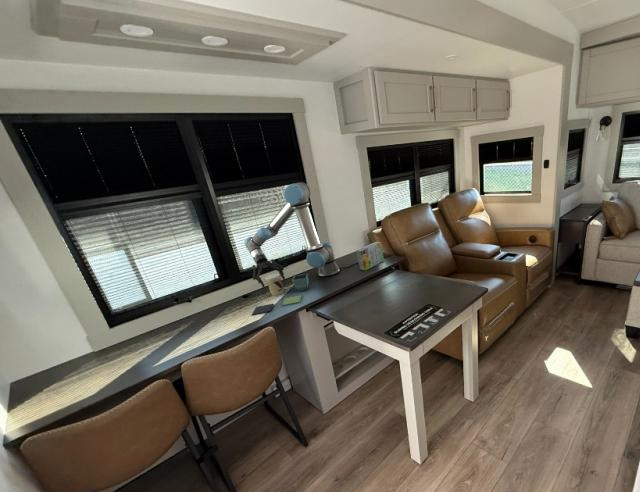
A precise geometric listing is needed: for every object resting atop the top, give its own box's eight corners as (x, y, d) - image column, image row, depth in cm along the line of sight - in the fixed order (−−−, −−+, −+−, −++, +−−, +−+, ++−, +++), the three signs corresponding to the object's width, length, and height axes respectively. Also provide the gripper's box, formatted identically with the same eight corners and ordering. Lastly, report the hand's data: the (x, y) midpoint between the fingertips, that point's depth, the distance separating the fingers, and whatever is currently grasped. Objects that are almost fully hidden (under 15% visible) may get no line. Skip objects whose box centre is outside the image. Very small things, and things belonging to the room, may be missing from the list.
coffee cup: (280, 295, 200) (274, 278, 195) (267, 296, 202) (261, 279, 198) (287, 289, 208) (282, 272, 204) (275, 290, 211) (270, 273, 206)
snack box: (379, 260, 240) (375, 241, 234) (384, 261, 236) (381, 241, 231) (359, 270, 225) (355, 250, 219) (365, 271, 222) (361, 250, 216)
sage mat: (301, 296, 194) (301, 295, 194) (299, 302, 185) (299, 301, 185) (285, 299, 193) (284, 298, 193) (282, 306, 184) (282, 304, 184)
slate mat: (273, 304, 188) (273, 303, 188) (270, 311, 179) (269, 310, 178) (256, 308, 187) (256, 306, 186) (252, 315, 178) (251, 314, 177)
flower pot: (311, 285, 209) (307, 273, 205) (309, 290, 201) (306, 277, 197) (297, 288, 208) (294, 275, 205) (295, 293, 200) (292, 280, 197)
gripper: (277, 255, 218) (291, 279, 213) (240, 266, 204) (254, 292, 199) (277, 248, 212) (292, 273, 207) (239, 259, 198) (254, 286, 193)
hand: (274, 282), depth 203 cm, fingers open, 13 cm apart
